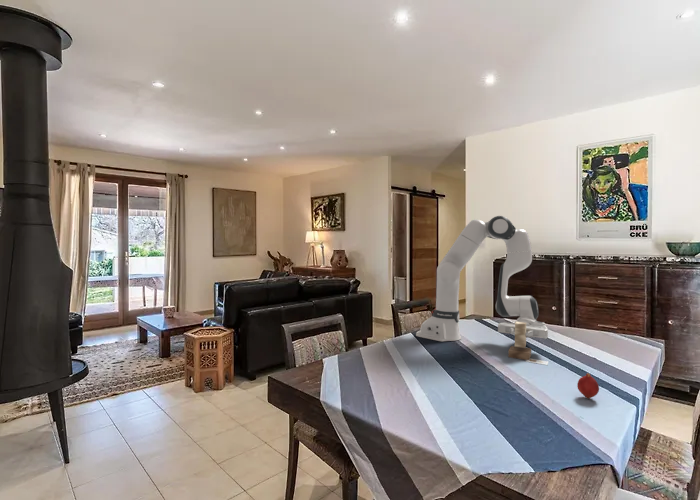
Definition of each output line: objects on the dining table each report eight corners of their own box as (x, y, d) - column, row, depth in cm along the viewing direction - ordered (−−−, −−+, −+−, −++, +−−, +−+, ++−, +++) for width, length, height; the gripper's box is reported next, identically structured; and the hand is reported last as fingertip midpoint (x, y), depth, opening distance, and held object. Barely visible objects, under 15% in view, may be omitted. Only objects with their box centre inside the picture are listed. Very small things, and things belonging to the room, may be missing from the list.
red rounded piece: (578, 392, 122) (579, 368, 122) (599, 397, 119) (600, 372, 119) (575, 398, 118) (576, 373, 118) (597, 403, 114) (598, 378, 114)
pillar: (514, 346, 160) (515, 323, 160) (515, 344, 163) (516, 321, 163) (524, 347, 158) (525, 324, 158) (525, 345, 161) (526, 322, 161)
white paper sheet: (525, 361, 154) (525, 361, 154) (527, 358, 158) (527, 357, 158) (547, 365, 149) (547, 364, 149) (548, 362, 154) (548, 361, 154)
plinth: (508, 357, 159) (508, 350, 159) (511, 352, 166) (511, 345, 166) (529, 360, 155) (529, 352, 155) (531, 355, 162) (531, 348, 162)
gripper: (500, 317, 177) (494, 323, 165) (549, 323, 166) (547, 329, 154) (500, 331, 177) (494, 337, 165) (548, 337, 166) (546, 344, 155)
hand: (520, 333), depth 160 cm, fingers closed on pillar, 4 cm apart
